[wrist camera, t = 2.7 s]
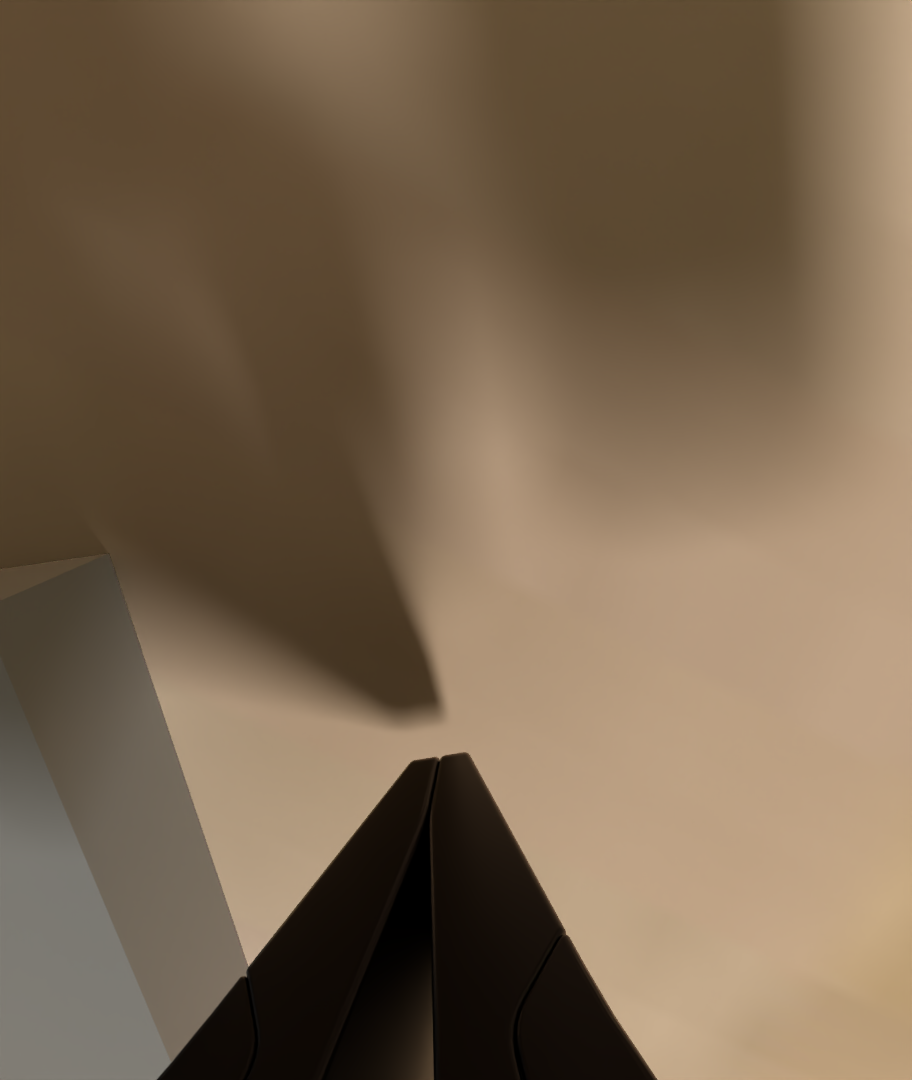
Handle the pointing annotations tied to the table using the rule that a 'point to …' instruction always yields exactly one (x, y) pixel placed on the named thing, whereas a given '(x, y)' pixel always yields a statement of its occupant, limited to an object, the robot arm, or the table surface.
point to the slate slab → (96, 844)
